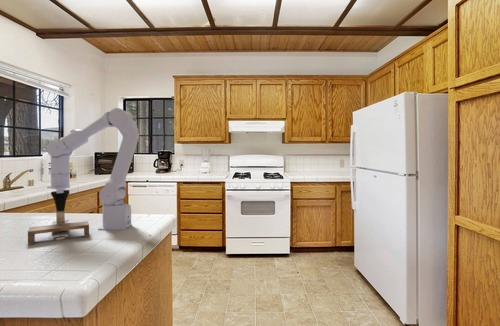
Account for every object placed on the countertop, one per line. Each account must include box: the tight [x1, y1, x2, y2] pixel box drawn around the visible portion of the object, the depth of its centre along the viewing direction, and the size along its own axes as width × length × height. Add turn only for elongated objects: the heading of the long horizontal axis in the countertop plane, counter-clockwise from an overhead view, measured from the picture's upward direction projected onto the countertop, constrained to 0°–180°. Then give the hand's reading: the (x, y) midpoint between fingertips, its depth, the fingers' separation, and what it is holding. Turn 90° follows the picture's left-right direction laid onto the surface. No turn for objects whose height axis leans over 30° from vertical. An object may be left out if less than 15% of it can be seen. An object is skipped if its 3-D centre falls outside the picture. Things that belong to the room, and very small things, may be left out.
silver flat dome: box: [52, 234, 69, 241], centre depth 92 cm, size 4×4×1 cm
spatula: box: [51, 209, 70, 233], centre depth 102 cm, size 12×5×9 cm, turn 33°
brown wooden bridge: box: [27, 220, 90, 246], centre depth 92 cm, size 16×6×4 cm, turn 123°
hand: (60, 210), depth 105 cm, fingers closed on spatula
